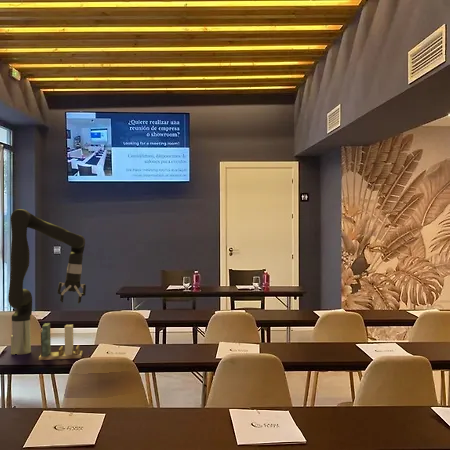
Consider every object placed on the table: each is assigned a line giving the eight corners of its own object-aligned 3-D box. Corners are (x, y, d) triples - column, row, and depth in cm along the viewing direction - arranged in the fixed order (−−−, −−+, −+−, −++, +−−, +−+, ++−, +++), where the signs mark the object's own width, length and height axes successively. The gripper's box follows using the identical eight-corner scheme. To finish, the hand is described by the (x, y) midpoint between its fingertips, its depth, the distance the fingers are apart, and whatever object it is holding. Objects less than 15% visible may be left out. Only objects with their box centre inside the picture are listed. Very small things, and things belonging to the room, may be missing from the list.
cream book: (64, 354, 279) (64, 326, 279) (66, 352, 285) (66, 324, 285) (72, 354, 279) (71, 326, 279) (73, 351, 285) (73, 324, 285)
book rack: (38, 360, 275) (38, 326, 275) (42, 355, 285) (41, 323, 285) (80, 357, 278) (80, 324, 278) (82, 353, 288) (81, 321, 288)
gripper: (86, 272, 302) (83, 302, 302) (59, 270, 298) (55, 300, 297) (88, 274, 295) (84, 304, 295) (60, 271, 291) (56, 302, 290)
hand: (70, 302), depth 296 cm, fingers open, 8 cm apart
